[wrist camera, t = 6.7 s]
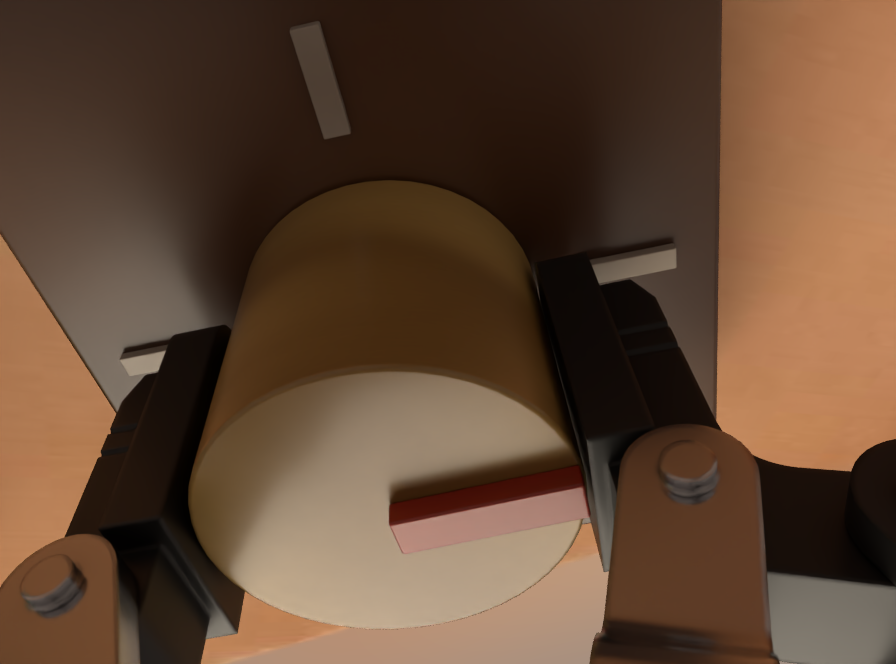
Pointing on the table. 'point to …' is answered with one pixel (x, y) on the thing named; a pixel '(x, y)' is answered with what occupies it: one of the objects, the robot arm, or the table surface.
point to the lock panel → (348, 146)
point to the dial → (388, 417)
